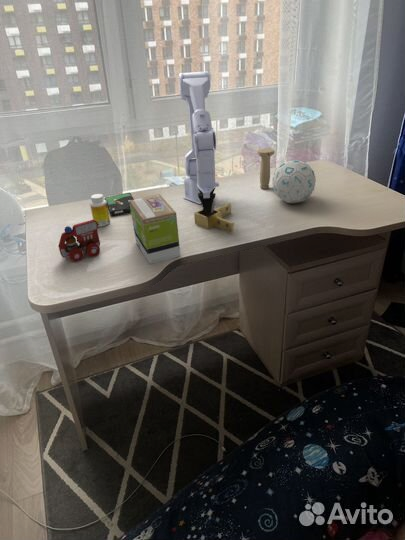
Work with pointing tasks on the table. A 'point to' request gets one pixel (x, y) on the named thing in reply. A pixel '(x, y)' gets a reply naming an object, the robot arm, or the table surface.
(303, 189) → the puzzle ball
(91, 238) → the toy fire truck
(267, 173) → the handle
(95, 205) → the supplement bottle
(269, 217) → the table surface
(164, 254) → the tea box
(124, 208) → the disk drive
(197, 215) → the gold square socket frame
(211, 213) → the pin
